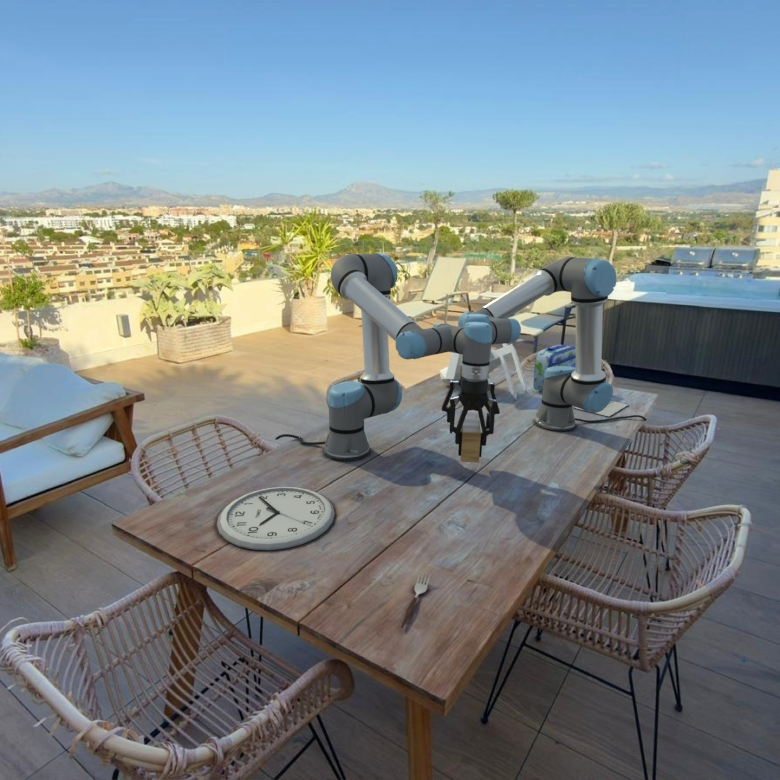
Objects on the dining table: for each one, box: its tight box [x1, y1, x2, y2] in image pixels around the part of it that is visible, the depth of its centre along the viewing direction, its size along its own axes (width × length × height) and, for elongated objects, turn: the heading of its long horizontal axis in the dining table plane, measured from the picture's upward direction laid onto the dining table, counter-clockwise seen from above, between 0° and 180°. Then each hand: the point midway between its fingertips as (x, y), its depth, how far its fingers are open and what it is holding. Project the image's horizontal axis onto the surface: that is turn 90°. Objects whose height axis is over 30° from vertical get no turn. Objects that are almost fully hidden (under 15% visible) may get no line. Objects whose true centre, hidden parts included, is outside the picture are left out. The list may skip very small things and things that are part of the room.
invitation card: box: [573, 400, 629, 418], centre depth 226 cm, size 21×1×15 cm
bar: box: [460, 407, 482, 464], centre depth 158 cm, size 22×5×9 cm, turn 173°
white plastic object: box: [438, 343, 531, 400], centre depth 245 cm, size 37×45×31 cm
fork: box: [400, 570, 431, 629], centre depth 106 cm, size 3×16×2 cm, turn 160°
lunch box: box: [533, 344, 576, 392], centre depth 247 cm, size 26×11×21 cm, turn 134°
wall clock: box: [216, 486, 336, 551], centre depth 136 cm, size 30×2×30 cm
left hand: (469, 454), depth 153 cm, fingers closed on bar, 5 cm apart
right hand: (468, 432), depth 166 cm, fingers open, 10 cm apart
